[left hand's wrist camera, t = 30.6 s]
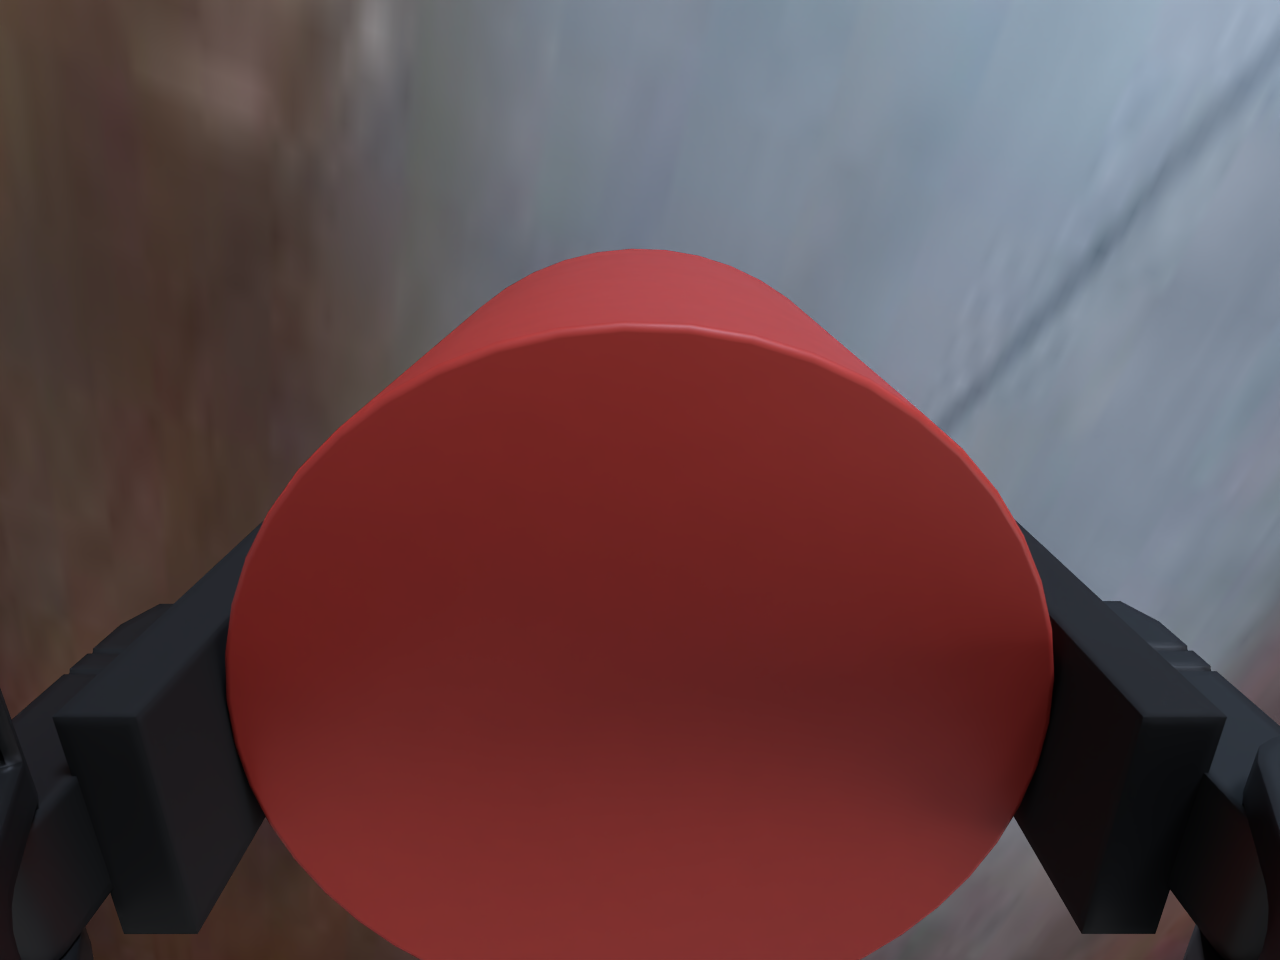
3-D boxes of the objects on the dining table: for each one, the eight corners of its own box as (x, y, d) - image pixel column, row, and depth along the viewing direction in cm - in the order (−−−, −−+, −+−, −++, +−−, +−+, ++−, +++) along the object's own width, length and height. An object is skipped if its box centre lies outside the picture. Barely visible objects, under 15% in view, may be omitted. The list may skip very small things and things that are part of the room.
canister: (964, 395, 15) (1243, 587, 8) (722, 739, 18) (774, 1094, 11) (529, 149, 13) (412, 125, 6) (341, 571, 16) (122, 862, 9)
